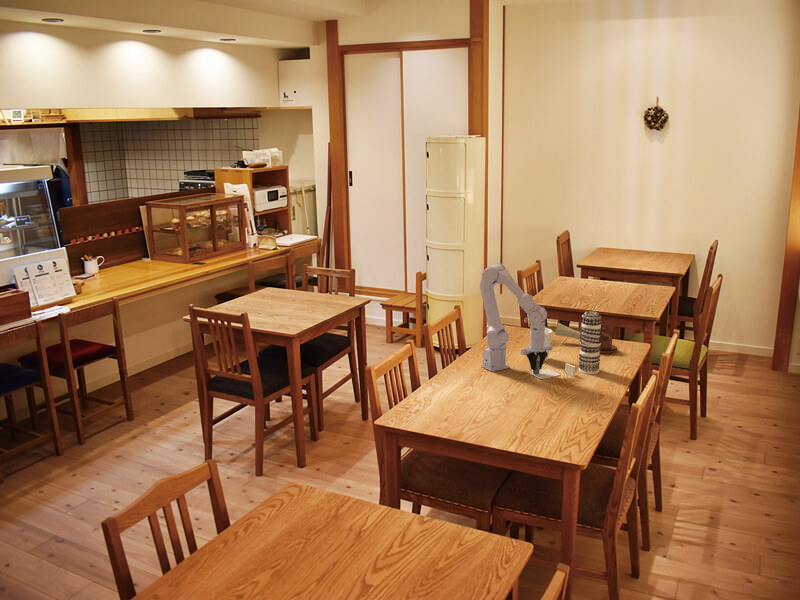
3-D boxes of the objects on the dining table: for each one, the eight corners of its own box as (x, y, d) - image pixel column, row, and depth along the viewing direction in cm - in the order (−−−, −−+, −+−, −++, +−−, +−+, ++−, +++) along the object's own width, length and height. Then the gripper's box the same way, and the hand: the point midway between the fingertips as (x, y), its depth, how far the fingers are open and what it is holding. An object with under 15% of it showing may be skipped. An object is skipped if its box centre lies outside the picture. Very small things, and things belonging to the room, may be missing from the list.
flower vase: (590, 362, 330) (517, 340, 340) (594, 348, 340) (523, 326, 349) (596, 342, 324) (521, 320, 333) (600, 328, 333) (528, 306, 343)
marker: (535, 374, 292) (536, 358, 290) (531, 372, 294) (532, 356, 293) (540, 373, 293) (541, 357, 292) (536, 371, 296) (537, 355, 294)
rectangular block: (574, 376, 291) (575, 366, 290) (573, 376, 291) (573, 367, 290) (566, 372, 296) (567, 363, 295) (565, 372, 295) (565, 363, 294)
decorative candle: (574, 372, 296) (577, 314, 290) (580, 365, 304) (583, 309, 298) (597, 375, 292) (600, 316, 286) (602, 368, 300) (605, 311, 294)
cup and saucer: (618, 356, 316) (618, 342, 315) (590, 354, 319) (590, 341, 317) (615, 347, 328) (616, 335, 326) (588, 346, 330) (589, 333, 329)
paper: (541, 379, 288) (541, 378, 288) (529, 373, 295) (529, 372, 295) (560, 375, 292) (560, 374, 292) (548, 369, 299) (548, 368, 299)
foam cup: (552, 362, 308) (554, 333, 305) (531, 362, 309) (532, 333, 306) (548, 355, 318) (549, 327, 315) (528, 355, 318) (529, 327, 315)
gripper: (529, 342, 284) (527, 374, 287) (557, 337, 290) (556, 368, 293) (518, 338, 290) (517, 369, 293) (546, 333, 296) (545, 364, 299)
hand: (536, 369), depth 293 cm, fingers closed on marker, 3 cm apart
